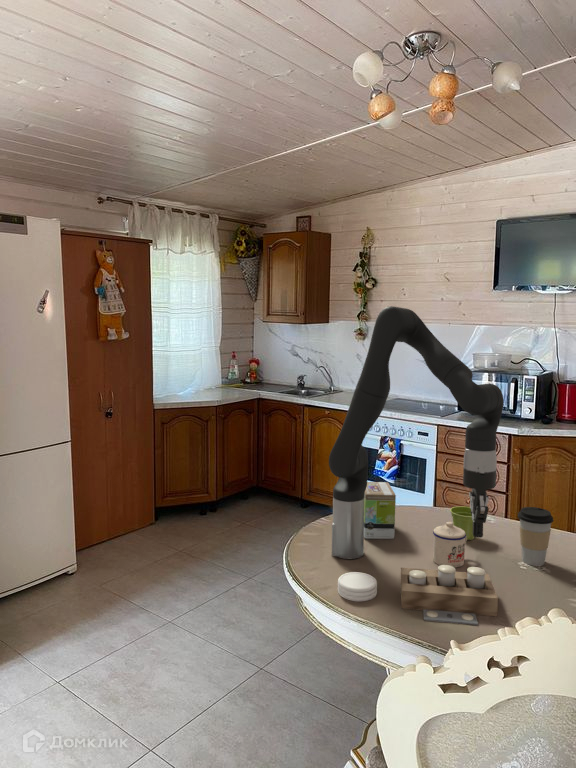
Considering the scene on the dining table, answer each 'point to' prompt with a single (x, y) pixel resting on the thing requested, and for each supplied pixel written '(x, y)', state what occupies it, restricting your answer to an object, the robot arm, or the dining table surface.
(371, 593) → the coaster
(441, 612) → the card
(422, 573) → the left button
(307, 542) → the dining table surface
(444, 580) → the middle button
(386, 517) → the tea box
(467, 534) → the plant pot
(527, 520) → the coffee cup
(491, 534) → the dining table surface
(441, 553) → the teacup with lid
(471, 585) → the right button
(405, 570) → the button board
